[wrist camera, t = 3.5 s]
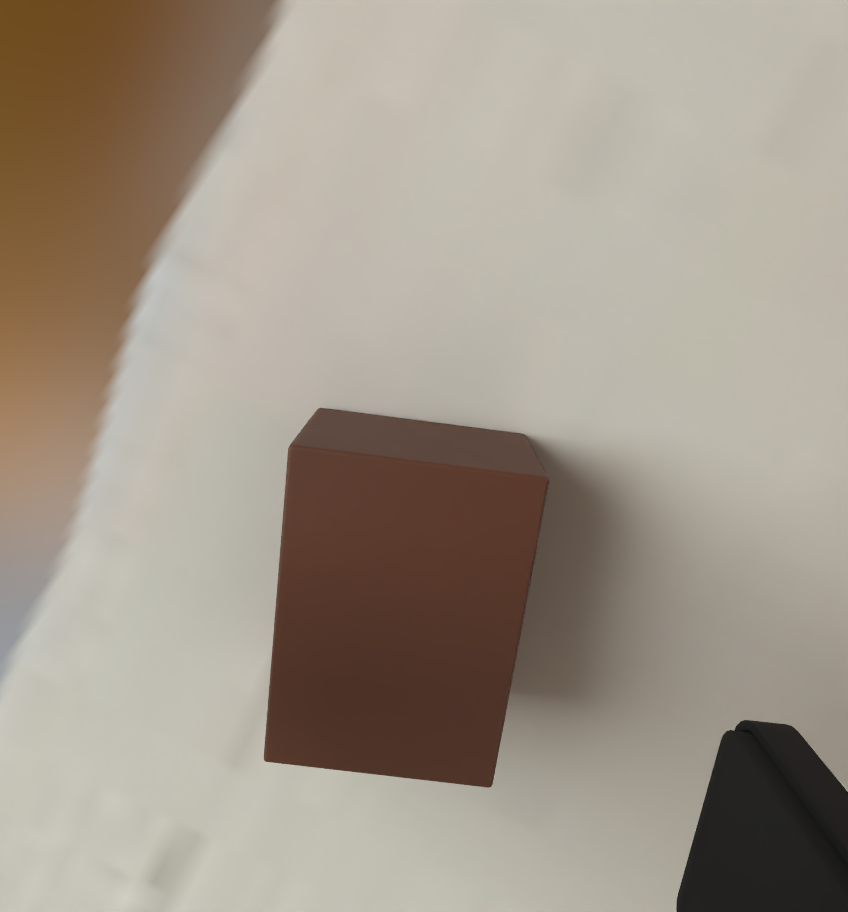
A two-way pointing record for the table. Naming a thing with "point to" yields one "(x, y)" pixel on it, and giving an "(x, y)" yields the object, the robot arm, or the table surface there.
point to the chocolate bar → (401, 595)
